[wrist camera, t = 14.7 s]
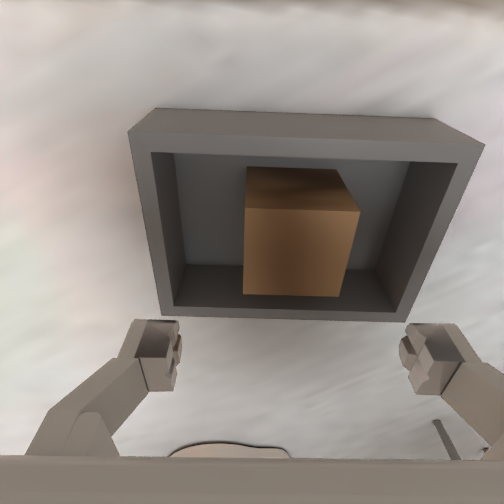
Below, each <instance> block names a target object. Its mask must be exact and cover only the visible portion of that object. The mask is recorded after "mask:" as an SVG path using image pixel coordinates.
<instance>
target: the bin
mask: <svg viewBox="0 0 504 504" xmlns="http://www.w3.org/2000/svg"><path fill="white" fill-rule="evenodd" d="M128 136H129V142H130V147H131V153H132V158H133V163H134V169H135V174H136V180H137V185H138V191H139V196H140V201H141V207H142V212H143V218H144V223H145V229H146V234H147V239H148V245H149V250H150V256H151V261H152V266H153V272H154V277H155V283H156V288H157V294H158V299H159V304H160V310H161V315H162V316H193V317H229V318H264V319H300V320H335V321H371V322H406V319H407V317H408V315H409V313H410V310H411V308H412V306H413V304H414V302H415V299H416V297H417V295H418V293H419V291H420V288H421V286H422V284H423V282H424V280H425V277H426V275H427V273H428V271H429V268H430V266H431V264H432V262H433V260H434V257H435V255H436V253H437V251H438V249H439V246H440V244H441V242H442V240H443V238H444V235H445V233H446V231H447V229H448V226H449V224H450V222H451V220H452V218H453V215H454V213H455V211H456V209H457V207H458V204H459V202H460V200H461V198H462V195H463V193H464V191H465V189H466V187H467V184H468V182H469V180H470V178H471V176H472V173H473V171H474V169H475V167H476V165H477V162H478V160H479V158H480V156H481V153H482V151H483V149H484V147H485V144H483V143H481V142H479V141H477V140H475V139H474V138H472V137H470V136H468V135H466V134H464V133H462V132H460V131H458V130H456V129H454V128H452V127H450V126H448V125H446V124H444V123H442V122H441V121H439V120H437V119H433V118H406V117H380V116H354V115H327V114H301V113H275V112H248V111H222V110H196V109H169V108H155V109H154V110H153V111H151V112H150V113H149V114H148V115H147V116H146V117H144V118H143V119H142V120H141V121H140V122H138V123H137V124H136V125H135V126H134V127H132V128H131V129H130V130H129V131H128ZM247 166H255V167H283V168H312V169H336V170H337V171H338V173H339V175H340V177H341V178H342V180H343V182H344V184H345V185H346V187H347V189H348V191H349V192H350V194H351V196H352V198H353V199H354V201H355V203H356V205H357V206H358V208H359V210H360V216H359V220H358V224H357V228H356V232H355V236H354V239H353V243H352V247H351V251H350V255H349V259H348V263H347V266H346V270H345V274H344V278H343V282H342V286H341V290H340V293H339V297H327V296H292V295H258V294H243V269H244V226H245V197H246V177H247Z"/></svg>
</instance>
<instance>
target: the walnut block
mask: <svg viewBox="0 0 504 504" xmlns="http://www.w3.org/2000/svg"><path fill="white" fill-rule="evenodd" d="M359 216H360V210H359V208H358V206H357V205H356V203H355V201H354V199H353V198H352V196H351V194H350V192H349V191H348V189H347V187H346V185H345V184H344V182H343V180H342V178H341V177H340V175H339V173H338V171H337V170H336V169H312V168H283V167H255V166H247V177H246V197H245V226H244V269H243V294H258V295H292V296H327V297H339V293H340V290H341V286H342V282H343V278H344V274H345V270H346V266H347V263H348V259H349V255H350V251H351V247H352V243H353V239H354V236H355V232H356V228H357V224H358V220H359Z"/></svg>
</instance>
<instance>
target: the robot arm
mask: <svg viewBox="0 0 504 504" xmlns="http://www.w3.org/2000/svg"><path fill="white" fill-rule="evenodd" d="M179 328H180V327H179V322H178V321H176V320H151V319H149V320H146V319H135V320H134V321H133V322H132V323H131V325H130V328H129V330H128V333H127V335H126V338H125V340H124V342H123V345H122V347H121V350H120V352H119V354H118V357H117V358H112V359H111V360H110V361H108V362H107V363H106V364H105V365H104V366H102V367H101V368H100V369H99V370H97V371H96V372H95V373H94V374H93V375H91V376H90V377H89V378H88V379H86V380H85V381H84V382H83V383H82V384H80V385H79V386H78V387H77V388H75V389H74V390H73V391H72V392H71V393H69V394H68V395H67V396H66V397H64V398H63V399H62V400H61V401H60V402H58V403H57V404H56V405H55V406H53V407H52V408H51V409H50V410H49V411H48V413H47V414H46V416H45V418H44V420H43V422H42V424H41V426H40V427H39V429H38V431H37V433H36V435H35V437H34V439H33V440H32V442H31V444H30V446H29V448H28V450H27V452H26V453H25V455H0V504H504V374H503V373H501V372H500V371H498V370H497V369H495V368H494V367H492V366H491V365H489V364H488V363H482V361H481V360H480V358H479V357H478V355H477V354H476V353H475V351H474V350H473V348H472V347H471V345H470V344H469V342H468V341H467V339H466V338H465V337H464V335H463V334H462V332H461V331H460V329H459V328H458V327H457V326H456V325H455V324H437V323H410V324H409V325H407V327H406V329H405V332H406V334H407V335H406V336H405V337H404V338H402V339H401V341H400V344H399V356H400V359H401V362H402V364H403V366H404V367H406V368H407V369H408V370H409V371H410V372H409V375H408V378H409V380H410V382H411V384H412V387H413V389H414V391H415V393H416V394H421V395H441V397H442V398H443V399H444V400H445V401H446V402H447V403H448V404H449V405H450V406H451V407H452V408H453V409H454V410H455V411H456V412H457V413H458V414H459V415H460V416H461V417H462V418H463V419H464V420H465V421H466V422H467V423H468V424H469V425H470V426H471V427H472V428H473V429H474V430H475V431H476V432H478V433H479V434H480V435H481V436H482V437H483V438H484V439H485V440H486V441H487V442H488V443H489V444H490V445H491V447H490V448H489V449H488V450H487V451H486V452H485V453H484V454H483V456H482V458H481V459H482V460H409V459H323V458H290V457H289V455H288V454H287V453H286V452H285V451H284V450H282V449H274V448H252V447H246V446H241V445H234V444H204V445H197V446H192V447H188V448H185V449H182V450H180V451H178V452H176V453H174V454H173V455H171V456H170V457H136V456H120V454H119V452H118V450H117V448H116V446H115V444H114V442H113V440H112V438H111V437H112V435H113V434H114V433H115V432H116V431H117V429H118V428H119V427H120V426H121V425H122V424H123V422H124V421H125V420H126V419H127V418H128V417H129V415H130V414H131V413H132V412H133V411H134V410H135V408H136V407H137V406H138V405H139V404H140V403H141V401H142V400H143V399H144V398H145V397H146V396H147V394H148V392H160V391H173V390H174V386H175V382H176V377H177V370H176V366H177V365H178V364H179V363H180V359H181V352H182V339H181V336H180V335H179V334H178V332H179Z"/></svg>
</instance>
